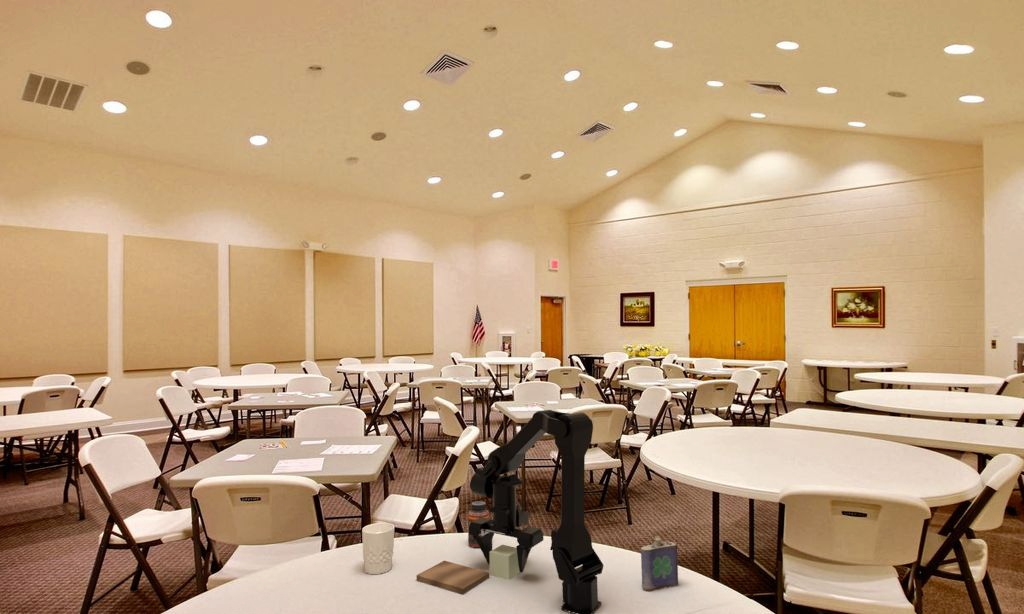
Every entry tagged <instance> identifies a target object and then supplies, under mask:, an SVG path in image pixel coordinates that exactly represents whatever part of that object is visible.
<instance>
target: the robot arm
mask: <svg viewBox="0 0 1024 614" xmlns="http://www.w3.org/2000/svg"><path fill="white" fill-rule="evenodd" d="M593 431H594V423H593V420H592V419H591V418H590V417H589V415H587V414H586V413H585V412H574V413H569V412H561V411H555V410H552V409H544V410H537V411H536V412H534V413H533V415H532V417H531V418H530V419H529V420H528V421H527V422H526V424H524V426H523V427H522V428H521V429H520V430H519V431H518V432H517V433H516V434H515V435H514V436H513V437H512V438H511V439H510V440H509V441H508V442H507V443H505V444H503V445H501V446H499V447H497V448H495V449H493V450H492V451H490V453H489V454H488V456H487V460H486V462H485V465H484V466H483V467H482V466H480V467H476V469H475V473H474V474H473V475H472V476H471V478H470V482H469V489H470V491H471V493H473V494H475V495H478V496H481V497H485V498H487V499H492V506H491V507H489V513H492V518H490V517H489V518H483V517H480V518H478V519H476V520H474V521H472V522H470V524H469V526H468V525H467V526H468V527H467V528H468V529H467V530H468V531H467V532H468V533H467V534H470V535H473V536H472V537H473V539H475V540H476V542H477V543H478V545H479V547H480V550H481V552H482V555H483V556H484V559H485V560H486V563H487V565H488V566H490V551H492V550H493V538H494V535H495V534H496V535H500V536H505V537H506V536H507V537H510V538H515V539H516V542H517V544H518V545H516V546H515V548H517V557H518V566H519V571H520V573H521V574H522V573H523V572H524V571H525V568H526V565H527V561H528V558H529V555H530V553H531V550H532V548H534V547H535V546H537V545H539V544H540V543H542V542H543V541H545V540H544V531H543V530H542V528H540V527H535V526H530V525H529V519H530V512H529V511H526V510H521V508H520V504H518V503H517V486H520V485H522V484H523V482H522V480H521V478H519V477H518V476H517V474H510V473H513V472H517V471H518V470H519V468H520V467H521V466H522V464H523V462H524V459H525V457H524V456H525V455H526V454H527V452H528V451H529V450H530V449H532V448H533V446H534V445H536V443H538V442H539V441H540V439H542V437H543V436H544V435H545V434H547V435H551V436H553V437H554V438H553V439H554V444H555V446H556V448H557V450H558V452H559V453H560V456H561V475H560V476H561V477H560V479H561V482H560V484H561V489H560V490H561V494H560V495H561V496H560V497H561V500H560V501H561V503H560V504H561V505H560V511H561V512H560V517H561V518H560V525H559V526H558V528H555V529H552V530H551V533H550V538H551V539H550V541H551V544H550V545H551V546H550V551H552V560H553V561H554V565H555V568H556V572H557V576H558V579H559V580H560V581H562V582H561V585H562V589H561V590H562V603H563V604H562V605H561V606H560V609H561V610H562V611H565V610H566V611H565V612H568V611H570V612H569V613H572V612H575V613H578V614H594V613H595V612H596V611H597V610H598V609H599V608H600V607H601V605H602V601H600V600H599V594H598V587H599V586H598V575H601V574H603V569H604V564H603V562H602V561H601V559H600V557H599V556H598V554H597V552H596V551H595V549H594V548H593V543H592V536H591V532H589V530H588V527H587V526H586V523H585V474H586V473H585V469H586V468H585V466H586V464H585V457H586V454H587V451H588V450H589V448H590V446H591V444H592V438H593ZM505 474H510V475H505ZM522 525H525V526H527V527H525V528H523V529H519V528H520V527H522ZM520 573H519V574H520ZM575 613H574V614H575Z"/></svg>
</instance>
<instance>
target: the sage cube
mask: <svg viewBox="0 0 1024 614" xmlns="http://www.w3.org/2000/svg"><path fill="white" fill-rule="evenodd" d="M518 573H519V574H520V571H519V566H518V557H517V548H516V546H511V545H510V546H509V545H506V544H500V545H498V546H497V547H496V548H494V549H492V551H490V565H489V576H492V577H494V578H498V579H499V578H500V579H502V578H503V580H506V579H507V581H510V580H512V579H513V578H514V577H516V576H517V575H519V574H518ZM515 575H516V576H515ZM511 578H512V579H511Z"/></svg>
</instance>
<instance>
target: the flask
mask: <svg viewBox="0 0 1024 614" xmlns="http://www.w3.org/2000/svg"><path fill="white" fill-rule="evenodd" d="M652 538H653V539H654V542H653V544H649V545H643V546H642V547H640V556H641V557H640V558H641V559H640V562H641V566H640V567H641V588H642V590H643V591H645V592H647V591H649V592H654V591H656V590H663V589H665V588H672V587H678V586H679V572H678V571H679V564H678V560H679V559H678V545H677V543H675V542H673V541H668V540H666V541H661V539H660V538H661V537H660V536H659V535H655V536H654V537H653V536H652Z"/></svg>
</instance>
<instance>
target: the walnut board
mask: <svg viewBox="0 0 1024 614" xmlns="http://www.w3.org/2000/svg"><path fill="white" fill-rule="evenodd" d="M488 579H490V571H485V570H482V569H478V568H474V567H470V566H466V565H462V564H458V563H456V562H452V561H447V560H443V561H441V562H439V563H437V564H435V565H433V566H430V567H429V568H428V569H425V570H424V571H422V572H419V573H418V574H416V581H417V582H420V583H423V582H424V584H427V585H430V586H434V587H437V588H440V589H442V590H443V589H444V590H447V591H450V592H454V593H457V594H460V595H465V594H466V593H468V592H469V591H470V590H471V591H472V589H474V588H475V587H478V586H479V585H480V584H482V583H484V582H485V581H486V580H488Z"/></svg>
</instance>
